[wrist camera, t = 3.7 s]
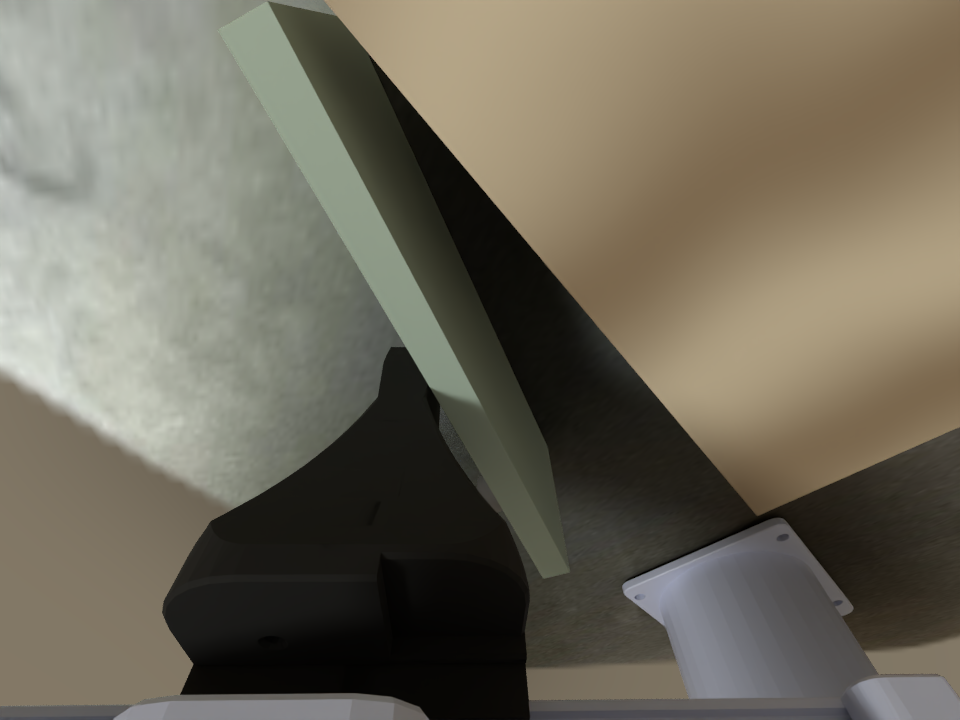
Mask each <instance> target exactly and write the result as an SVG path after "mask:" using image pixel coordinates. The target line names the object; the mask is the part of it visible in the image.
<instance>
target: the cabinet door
mask: <svg viewBox="0 0 960 720" xmlns="http://www.w3.org/2000/svg"><path fill="white" fill-rule="evenodd" d="M218 31H219V33H220V35H221V37H222V38H223V40H224V42H225V43H226V45H227V47H228V48H229V50H230V52H231V53H232V55H233V57H234V58H235V60H236V62H237V63H238V65H239V67H240V69H241V70H242V72H243V74H244V75H245V77H246V79H247V80H248V82H249V84H250V85H251V87H252V89H253V90H254V92H255V94H256V95H257V97H258V99H259V100H260V102H261V104H262V106H263V107H264V109H265V111H266V112H267V114H268V116H269V117H270V119H271V121H272V122H273V124H274V126H275V127H276V129H277V131H278V132H279V134H280V136H281V138H282V139H283V141H284V143H285V144H286V146H287V148H288V149H289V151H290V153H291V154H292V156H293V158H294V159H295V161H296V163H297V164H298V166H299V168H300V170H301V171H302V173H303V175H304V176H305V178H306V180H307V181H308V183H309V185H310V186H311V188H312V190H313V191H314V193H315V195H316V196H317V198H318V200H319V202H320V203H321V205H322V207H323V208H324V210H325V212H326V213H327V215H328V217H329V218H330V220H331V222H332V223H333V225H334V227H335V228H336V230H337V232H338V234H339V235H340V237H341V239H342V240H343V242H344V244H345V245H346V247H347V249H348V250H349V252H350V254H351V255H352V257H353V259H354V260H355V262H356V264H357V266H358V267H359V269H360V271H361V272H362V274H363V276H364V277H365V279H366V281H367V282H368V284H369V286H370V287H371V289H372V291H373V292H374V294H375V296H376V298H377V299H378V301H379V303H380V304H381V306H382V308H383V309H384V311H385V313H386V314H387V316H388V318H389V319H390V321H391V323H392V324H393V326H394V328H395V330H396V331H397V333H398V335H399V336H400V338H401V340H402V341H403V343H404V345H405V346H406V348H407V350H408V351H409V353H410V355H411V356H412V358H413V360H414V361H415V363H416V365H417V367H418V368H419V370H420V372H421V373H422V375H423V377H424V378H425V380H426V382H427V383H428V385H429V387H430V388H431V390H432V392H433V393H434V395H435V397H436V399H437V400H438V402H439V404H440V405H441V407H442V409H443V410H444V412H445V414H446V415H447V417H448V419H449V420H450V422H451V424H452V425H453V427H454V429H455V431H456V432H457V434H458V436H459V437H460V439H461V441H462V442H463V444H464V446H465V447H466V449H467V451H468V452H469V454H470V456H471V457H472V459H473V461H474V463H475V464H476V466H477V468H478V469H479V471H480V473H481V474H482V476H479V477H478V479H477V490H478V491H479V492H480V494H481V495H482V496H483V497H484V499H485V500H486V501H487V502H488V503H489V504H490V505H491V507H492V508H493V509H494V510H495V511H496V512H500V511H504V513H505V515H506V516H507V518H508V520H509V521H510V523H511V525H512V527H513V528H514V530H515V532H516V533H517V535H518V537H519V538H520V540H521V542H522V543H523V545H524V547H525V548H526V550H527V552H528V553H529V555H530V557H531V559H532V560H533V562H534V564H535V565H536V567H537V569H538V570H539V572H540V574H541V575H542V577H543V579H544V578H548V577H552V576H556V575H561V574H565V573H569V572H570V569H569V563H568V558H567V552H566V546H565V541H564V535H563V530H562V524H561V519H560V513H559V507H558V502H557V496H556V491H555V485H554V480H553V474H552V468H551V463H550V457H549V452H548V447H547V445H546V442H545V440H544V438H543V436H542V434H541V432H540V429H539V427H538V425H537V423H536V421H535V418H534V416H533V414H532V412H531V410H530V407H529V405H528V403H527V401H526V399H525V397H524V394H523V392H522V390H521V388H520V386H519V383H518V381H517V379H516V377H515V375H514V372H513V370H512V368H511V366H510V364H509V362H508V359H507V357H506V355H505V353H504V351H503V348H502V346H501V344H500V342H499V340H498V337H497V335H496V333H495V331H494V329H493V327H492V324H491V322H490V320H489V318H488V316H487V313H486V311H485V309H484V307H483V305H482V303H481V300H480V298H479V296H478V294H477V292H476V289H475V287H474V285H473V283H472V281H471V278H470V276H469V274H468V272H467V270H466V268H465V265H464V263H463V261H462V259H461V257H460V254H459V252H458V250H457V248H456V246H455V243H454V241H453V239H452V237H451V235H450V233H449V230H448V228H447V226H446V224H445V222H444V219H443V217H442V215H441V213H440V211H439V208H438V206H437V204H436V202H435V200H434V198H433V195H432V193H431V191H430V189H429V187H428V184H427V182H426V180H425V178H424V176H423V174H422V171H421V169H420V167H419V165H418V163H417V160H416V158H415V156H414V154H413V152H412V149H411V147H410V145H409V143H408V141H407V139H406V136H405V134H404V132H403V130H402V128H401V125H400V123H399V121H398V119H397V117H396V114H395V112H394V110H393V108H392V106H391V104H390V101H389V99H388V97H387V95H386V93H385V90H384V88H383V86H382V84H381V82H380V79H379V77H378V75H377V73H376V71H375V69H374V66H373V64H372V62H371V60H370V58H369V55H368V53H367V51H366V50H365V49H364V47H363V46H362V45H361V44H360V43H359V41H358V40H357V39H356V38H355V37H354V35H353V34H352V33H351V32H350V31H349V30H348V28H347V27H346V26H345V25H344V24H343V22H342V21H341V20H340V19H339V18H338V16H334V15H329V14H325V13H320V12H315V11H311V10H306V9H301V8H296V7H292V6H287V5H282V4H278V3H273V2H268V1H267V2H265V3H264V4H262V5H260V6H258V7H257V8H255V9H253V10H252V11H250V12H248V13H246V14H245V15H243V16H241V17H239V18H238V19H236V20H234V21H232V22H231V23H229V24H227V25H226V26H224V27H222V28H220V29H219V30H218Z"/></svg>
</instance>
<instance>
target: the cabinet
mask: <svg viewBox="0 0 960 720" xmlns="http://www.w3.org/2000/svg"><path fill="white" fill-rule="evenodd" d="M324 1H325V2H326V3H327V5H328V6H329V7H330V8H331V9H332V10H333V12H334V13H335V14H336V15H337V16H338V18H339V19H340V20H341V21H342V22H343V24H344V25H345V26H346V27H347V28H348V30H349V31H350V32H351V33H352V34H353V35H354V37H355V38H356V39H357V40H358V41H359V43H360V44H361V45H362V46H363V47H364V49H365V50H366V51H367V52H368V53H369V55H370V56H371V57H372V58H373V59H374V60H375V62H376V63H377V64H378V65H379V66H380V68H381V69H382V70H383V71H384V72H385V74H386V75H387V76H388V77H389V78H390V80H391V81H392V82H393V83H394V84H395V85H396V87H397V88H398V89H399V90H400V91H401V93H402V94H403V95H404V96H405V97H406V99H407V100H408V101H409V102H410V103H411V105H412V106H413V107H414V108H415V109H416V110H417V112H418V113H419V114H420V115H421V116H422V118H423V119H424V120H425V121H426V122H427V124H428V125H429V126H430V127H431V128H432V130H433V131H434V132H435V133H436V134H437V135H438V137H439V138H440V139H441V140H442V141H443V143H444V144H445V145H446V146H447V147H448V149H449V150H450V151H451V152H452V153H453V155H454V156H455V157H456V158H457V159H458V161H459V162H460V163H461V164H462V165H463V166H464V168H465V169H466V170H467V171H468V172H469V174H470V175H471V176H472V177H473V178H474V180H475V181H476V182H477V183H478V184H479V186H480V187H481V188H482V189H483V190H484V191H485V193H486V194H487V195H488V196H489V197H490V199H491V200H492V201H493V202H494V203H495V205H496V206H497V207H498V208H499V209H500V211H501V212H502V213H503V214H504V215H505V216H506V218H507V219H508V220H509V221H510V222H511V224H512V225H513V226H514V227H515V228H516V230H517V231H518V232H519V233H520V234H521V236H522V237H523V238H524V239H525V240H526V241H527V243H528V244H529V245H530V246H531V247H532V249H533V250H534V251H535V252H536V253H537V255H538V256H539V257H540V258H541V259H542V261H543V262H544V263H545V264H546V265H547V266H548V268H549V269H550V270H551V271H552V272H553V274H554V275H555V276H556V277H557V278H558V280H559V281H560V282H561V283H562V284H563V286H564V287H565V288H566V289H567V290H568V291H569V293H570V294H571V295H572V296H573V297H574V299H575V300H576V301H577V302H578V303H579V305H580V306H581V307H582V308H583V309H584V311H585V312H586V313H587V314H588V315H589V316H590V318H591V319H592V320H593V321H594V322H595V324H596V325H597V326H598V327H599V328H600V330H601V331H602V332H603V333H604V334H605V336H606V337H607V338H608V339H609V340H610V341H611V343H612V344H613V345H614V346H615V347H616V349H617V350H618V351H619V352H620V353H621V355H622V356H623V357H624V358H625V359H626V361H627V362H628V363H629V364H630V365H631V366H632V368H633V369H634V370H635V371H636V372H637V374H638V375H639V376H640V377H641V378H642V380H643V381H644V382H645V383H646V384H647V386H648V387H649V388H650V389H651V390H652V391H653V393H654V394H655V395H656V396H657V397H658V399H659V400H660V401H661V402H662V403H663V405H664V406H665V407H666V408H667V409H668V411H669V412H670V413H671V414H672V415H673V416H674V418H675V419H676V420H677V421H678V422H679V424H680V425H681V426H682V427H683V428H684V430H685V431H686V432H687V433H688V434H689V436H690V437H691V438H692V439H693V440H694V441H695V443H696V444H697V445H698V446H699V447H700V449H701V450H702V451H703V452H704V453H705V455H706V456H707V457H708V458H709V459H710V461H711V462H712V463H713V464H714V465H715V466H716V468H717V469H718V470H719V471H720V472H721V474H722V475H723V476H724V477H725V478H726V480H727V481H728V482H729V483H730V484H731V486H732V487H733V488H734V489H735V490H736V491H737V493H738V494H739V495H740V496H741V497H742V499H743V500H744V501H745V502H746V503H747V505H748V506H749V507H750V508H751V509H752V511H753V512H754V513H755V514H756V515H757V516H758V515H761V514H763V513H765V512H768V511H770V510H772V509H774V508H777V507H779V506H781V505H783V504H786V503H788V502H790V501H793V500H795V499H797V498H799V497H802V496H804V495H806V494H808V493H811V492H813V491H815V490H817V489H820V488H822V487H824V486H827V485H829V484H831V483H833V482H836V481H838V480H840V479H842V478H845V477H847V476H849V475H852V474H854V473H856V472H858V471H861V470H863V469H865V468H867V467H870V466H872V465H874V464H876V463H879V462H881V461H883V460H886V459H888V458H890V457H892V456H895V455H897V454H899V453H901V452H904V451H906V450H908V449H911V448H913V447H915V446H917V445H920V444H922V443H924V442H926V441H929V440H931V439H933V438H935V437H938V436H940V435H942V434H945V433H947V432H949V431H951V430H954V429H956V428H958V427H960V0H324Z"/></svg>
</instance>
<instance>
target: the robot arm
mask: <svg viewBox="0 0 960 720" xmlns="http://www.w3.org/2000/svg"><path fill="white" fill-rule="evenodd" d="M439 416H440V404H439V402H438V400H437V399H436V397H435V395H434V393H433V392H432V390H431V388H430V387H429V385H428V383H427V382H426V380H425V378H424V377H423V375H422V373H421V372H420V370H419V368H418V367H417V365H416V363H415V361H414V360H413V358H412V356H411V355H410V353H409V351H408V350H407V348H406V347H391V348H390V350H389V352H388V354H387V356H386V358H385V360H384V364H383V370H382V376H381V382H380V388H379V394H378V397H377V399H376V400H375V401H374V402H373V403H372V404H371V405H370V407H369V408H368V409H367V410H366V411H365V412H364V413H363V414H362V415H361V417H360V418H359V419H358V420H357V421H356V422H355V423H354V424H353V425H352V426H351V427H350V428H349V429H348V430H347V431H345V432H344V433H343V434H342V435H341V436H340V437H339V438H338V439H337V440H336V441H335V442H333V443H332V444H331V445H330V446H329V447H327V448H326V449H325V450H324V451H322V452H321V453H320V454H319V455H318V456H316V457H315V458H314V459H312V460H311V461H310V462H309V463H307V464H306V465H305V466H303V467H302V468H300V469H299V470H297V471H296V472H294V473H293V474H292V475H290V476H289V477H287V478H286V479H284V480H282V481H281V482H279V483H278V484H276V485H275V486H273V487H271V488H270V489H268V490H267V491H265V492H263V493H262V494H260V495H258V496H256V497H255V498H253V499H251V500H249V501H247V502H246V503H244V504H242V505H240V506H238V507H236V508H235V509H233V510H231V511H229V512H227V513H225V514H224V515H222V516H220V517H218V518H216V519H214V520H212V521H211V522H210V523H209V525H208V526H207V528H206V530H205V531H204V532H203V534H202V535H201V537H200V538H199V539H198V541H197V542H196V544H195V546H194V547H193V549H192V551H191V552H190V554H189V556H188V557H187V559H186V561H185V563H184V565H183V567H182V568H181V570H180V572H179V574H178V576H177V578H176V580H175V582H174V583H173V585H172V587H171V589H170V591H169V593H168V594H167V596H166V598H165V600H164V603H163V611H162V613H163V616H164V618H165V620H166V623H167V625H168V627H169V629H170V631H171V632H172V634H173V635H174V636H175V638H176V639H177V641H178V642H179V644H180V645H181V647H182V648H183V650H184V651H185V652H186V654H187V655H188V657H189V658H190V660H191V661H192V662H193V664H194V665H193V667H192V669H191V672H190V674H189V676H188V678H187V681H186V683H185V685H184V687H183V690H182V692H181V694H180V695H174V696H166V697H158V698H151V699H144V700H142V701H140V702H139V703H137V704H135V705H65V706H64V705H57V706H56V705H55V706H0V720H960V698H959V696H958V695H957V694H956V692H955V691H954V690H953V688H952V687H951V686H950V684H949V683H948V682H947V680H946V679H945V678H944V677H942V676H940V675H938V674H885V675H883V674H881V675H879V674H878V673H877V671H876V669H875V668H874V666H873V665H872V664H871V662H870V660H869V659H868V657H867V655H866V654H865V652H864V651H863V649H862V648H861V646H860V645H859V643H858V641H857V640H856V638H855V637H854V635H853V634H852V632H851V630H850V629H849V627H848V626H847V624H846V623H845V621H844V620H843V618H842V616H844V615H847V614H849V613H851V612H852V611H853V609H854V608H853V606H852V604H851V603H850V601H849V600H848V599H847V597H846V596H845V595H844V593H843V592H842V591H841V590H840V588H839V587H838V586H837V585H836V583H835V582H834V581H833V580H832V578H831V577H830V576H829V575H828V573H827V572H826V571H825V570H824V568H823V567H822V566H821V564H820V563H819V562H818V561H817V559H816V558H815V557H814V556H813V554H812V553H811V552H810V551H809V549H808V548H807V547H806V546H805V544H804V543H803V542H802V540H801V539H800V538H799V537H798V535H797V534H796V533H795V532H794V530H793V529H792V528H791V527H790V525H789V524H788V523H787V522H786V520H784V519H782V518H772V519H769V520H767V521H765V522H762V523H760V524H758V525H755V526H753V527H751V528H748V529H746V530H744V531H741V532H739V533H737V534H735V535H732V536H730V537H728V538H725V539H723V540H721V541H718V542H716V543H714V544H712V545H709V546H707V547H705V548H702V549H700V550H698V551H695V552H693V553H691V554H688V555H686V556H684V557H682V558H679V559H677V560H675V561H672V562H670V563H668V564H665V565H663V566H661V567H659V568H656V569H654V570H652V571H649V572H647V573H645V574H642V575H640V576H638V577H635V578H633V579H631V580H629V581H627V582H625V583H624V584H623V586H622V588H623V592H624V594H625V596H627V597H628V598H629V599H630V600H632V601H633V602H634V603H635V604H637V605H638V606H639V607H641V608H642V609H643V610H644V611H646V612H647V613H648V614H650V615H651V616H652V617H653V618H655V619H656V620H657V621H659V622H660V623H661V624H662V625H664V626H665V627H666V630H667V633H668V636H669V639H670V642H671V645H672V648H673V651H674V654H675V657H676V660H677V663H678V666H679V669H680V672H681V675H682V678H683V681H684V685H685V688H686V691H687V694H688V697H689V699H625V700H535V701H531V700H530V701H529V699H528V687H527V676H526V665H525V663H526V660H527V653H526V642H525V626H526V620H527V614H528V608H529V602H530V594H529V586H528V581H527V577H526V573H525V570H524V566H523V563H522V560H521V557H520V555H519V552H518V549H517V547H516V544H515V542H514V540H513V537H512V535H511V533H510V530H509V528H508V526H507V523H506V522H505V521H504V520H503V519H502V517H501V516H500V515H499V514H498V513H497V512H496V511H495V510H494V509H493V508H492V507H491V505H490V504H489V503H488V502H487V501H486V500H485V499H484V497H483V496H482V495H481V494H480V492H479V491H478V490H477V489H476V487H475V486H474V485H473V484H472V482H471V481H470V479H469V478H468V477H467V475H466V474H465V472H464V471H463V469H462V468H461V466H460V465H459V464H458V462H457V461H456V459H455V458H454V456H453V454H452V453H451V451H450V449H449V447H448V446H447V444H446V442H445V440H444V438H443V436H442V434H441V433H440V430H439Z"/></svg>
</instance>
